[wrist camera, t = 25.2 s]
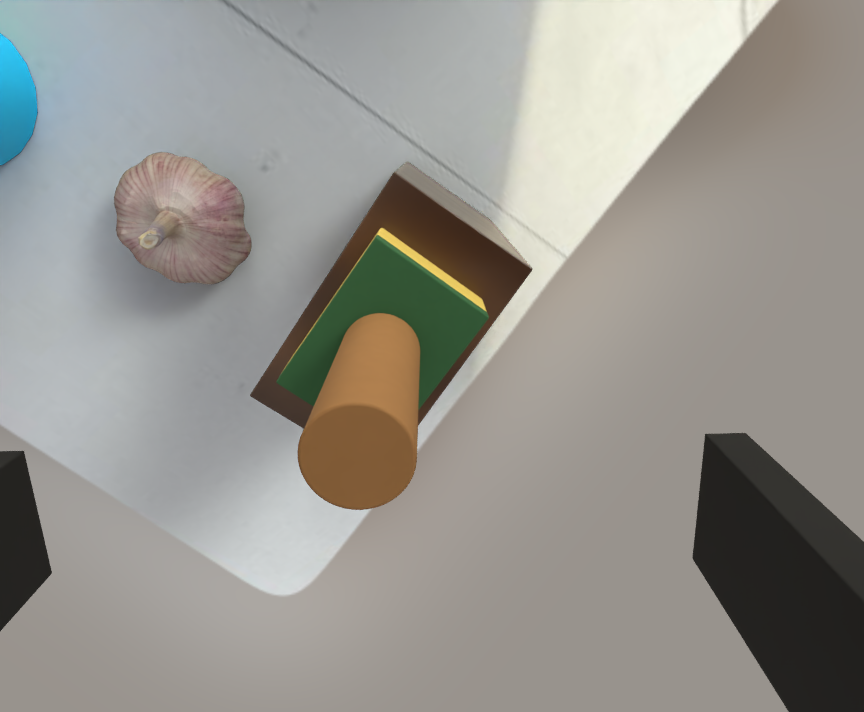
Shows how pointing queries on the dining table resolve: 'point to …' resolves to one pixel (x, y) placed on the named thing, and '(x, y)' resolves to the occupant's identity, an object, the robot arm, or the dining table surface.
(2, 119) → the mug
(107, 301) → the dining table surface
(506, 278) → the stand
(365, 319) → the sponge
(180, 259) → the garlic bulb
